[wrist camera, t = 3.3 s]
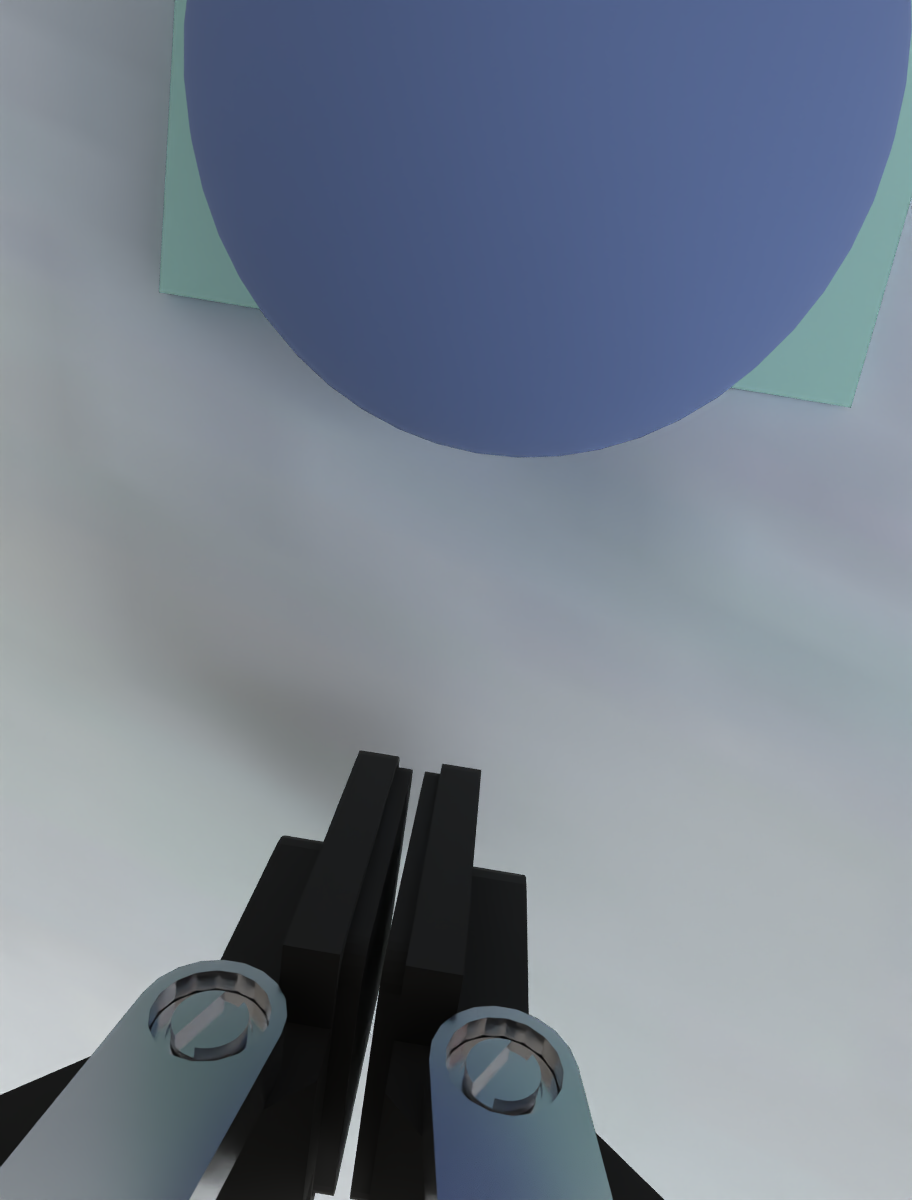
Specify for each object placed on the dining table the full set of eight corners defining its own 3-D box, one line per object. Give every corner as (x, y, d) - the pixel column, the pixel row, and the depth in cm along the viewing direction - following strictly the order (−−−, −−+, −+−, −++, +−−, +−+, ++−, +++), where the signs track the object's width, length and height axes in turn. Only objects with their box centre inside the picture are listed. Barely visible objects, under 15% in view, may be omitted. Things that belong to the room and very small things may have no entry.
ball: (840, -64, 10) (1324, -690, 4) (711, 464, 11) (909, 580, 6) (318, -144, 10) (27, -863, 4) (269, 389, 11) (17, 427, 6)
